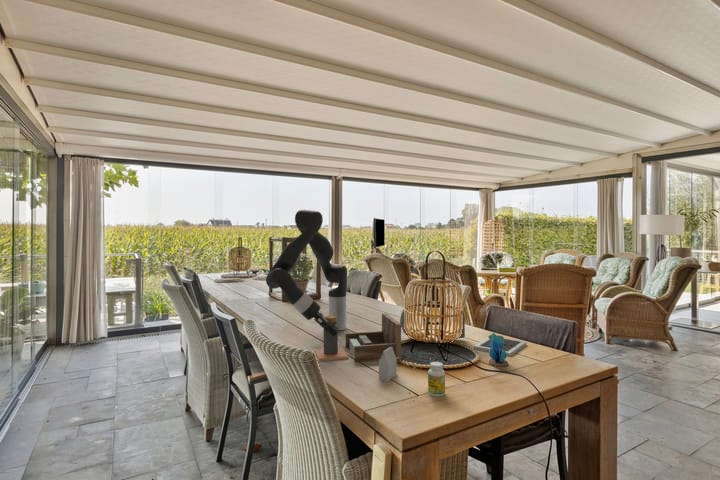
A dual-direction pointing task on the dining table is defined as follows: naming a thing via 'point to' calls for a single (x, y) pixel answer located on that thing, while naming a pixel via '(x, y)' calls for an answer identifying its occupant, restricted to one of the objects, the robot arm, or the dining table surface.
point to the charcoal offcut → (364, 340)
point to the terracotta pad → (324, 357)
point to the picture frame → (509, 346)
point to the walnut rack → (378, 340)
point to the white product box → (388, 365)
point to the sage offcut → (353, 344)
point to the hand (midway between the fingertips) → (334, 331)
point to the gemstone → (497, 352)
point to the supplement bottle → (436, 379)
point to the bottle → (331, 337)
